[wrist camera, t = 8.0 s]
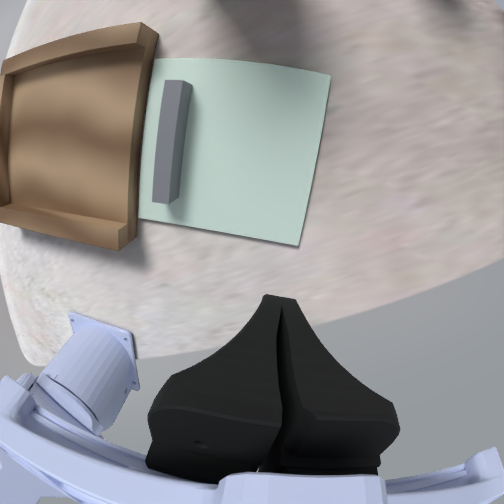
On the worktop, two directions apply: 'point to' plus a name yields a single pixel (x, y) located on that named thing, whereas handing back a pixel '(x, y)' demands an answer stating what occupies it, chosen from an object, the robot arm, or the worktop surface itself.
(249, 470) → the robot arm
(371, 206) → the worktop surface
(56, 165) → the wooden box
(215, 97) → the cover plate
